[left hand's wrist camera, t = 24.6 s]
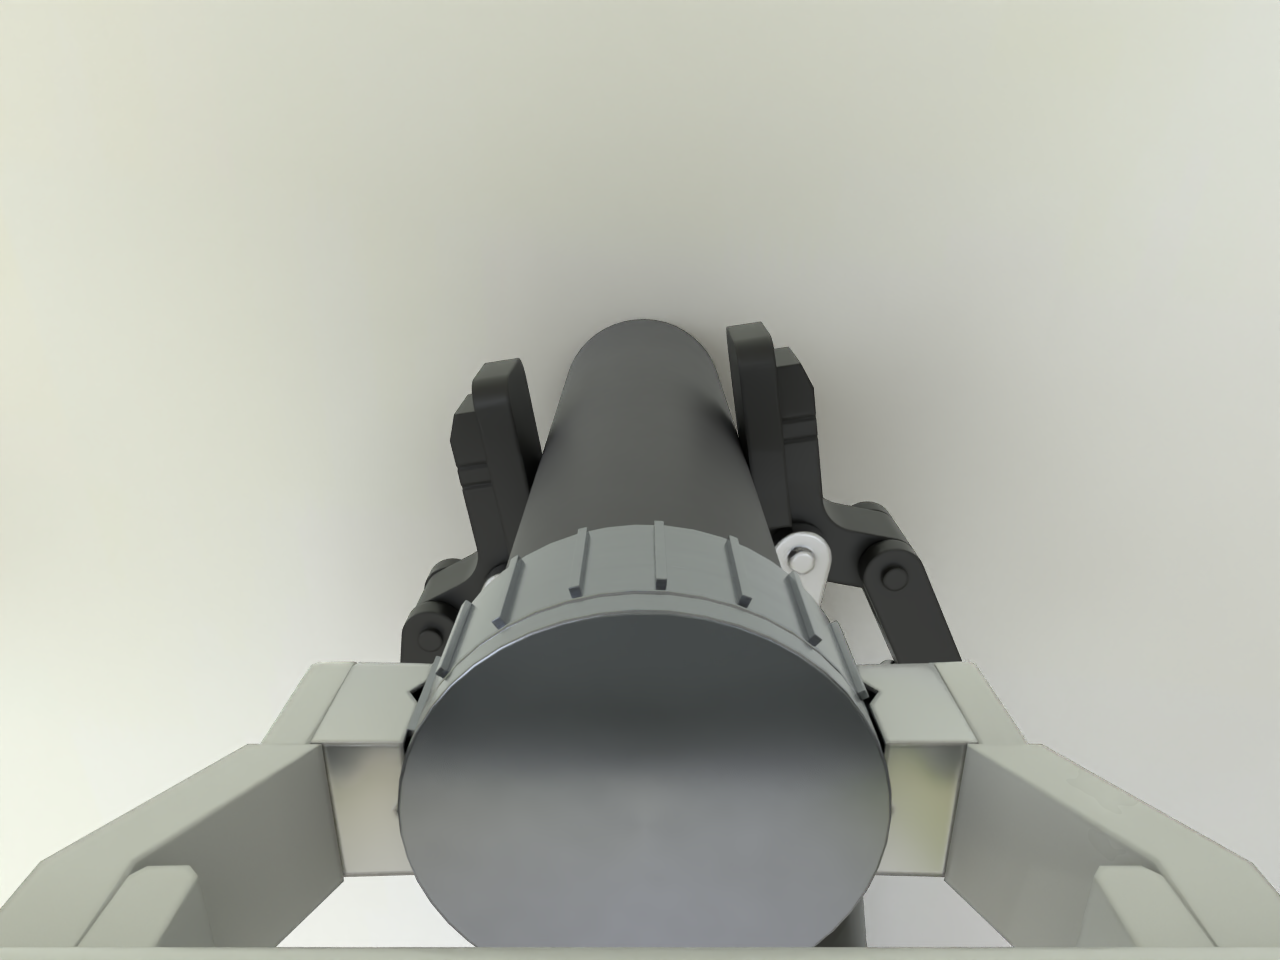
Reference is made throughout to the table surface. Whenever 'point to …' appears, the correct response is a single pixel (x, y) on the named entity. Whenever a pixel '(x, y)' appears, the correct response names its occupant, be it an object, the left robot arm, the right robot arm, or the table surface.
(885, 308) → the table surface
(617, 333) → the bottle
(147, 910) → the left robot arm
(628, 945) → the lid
